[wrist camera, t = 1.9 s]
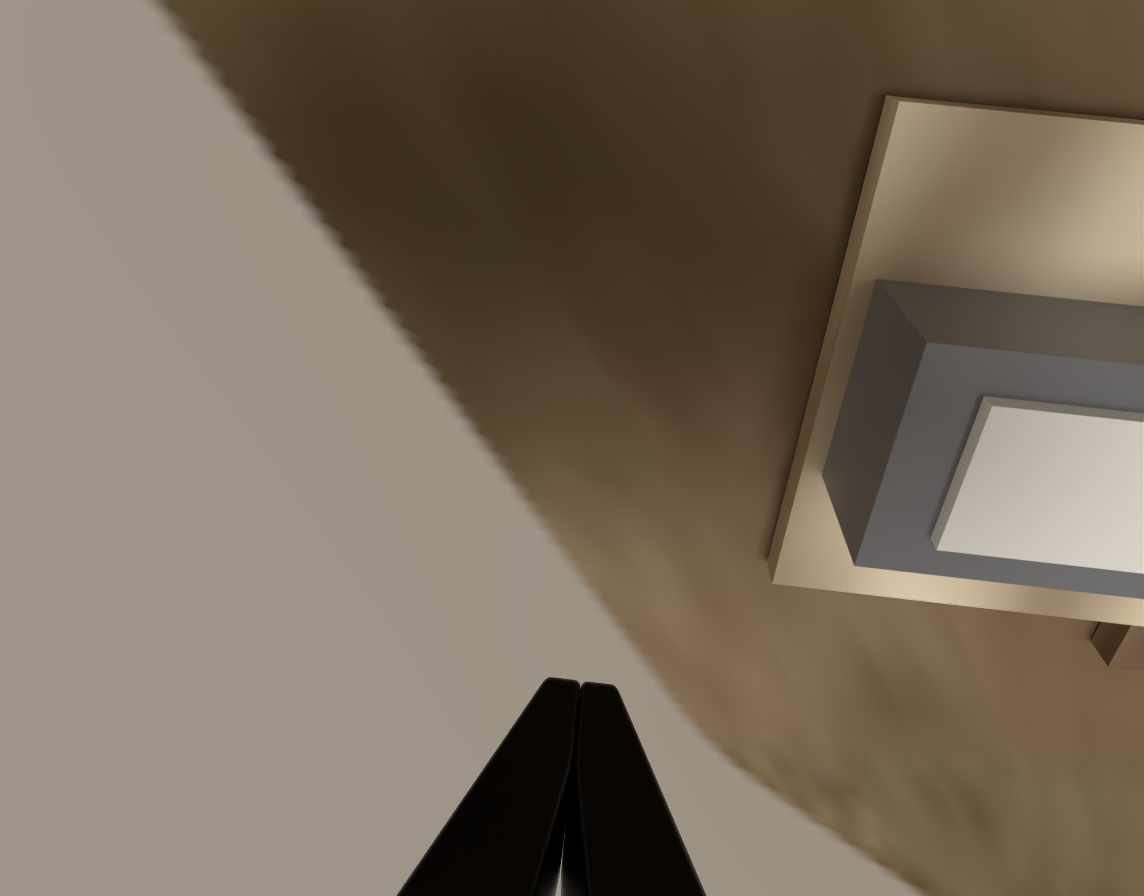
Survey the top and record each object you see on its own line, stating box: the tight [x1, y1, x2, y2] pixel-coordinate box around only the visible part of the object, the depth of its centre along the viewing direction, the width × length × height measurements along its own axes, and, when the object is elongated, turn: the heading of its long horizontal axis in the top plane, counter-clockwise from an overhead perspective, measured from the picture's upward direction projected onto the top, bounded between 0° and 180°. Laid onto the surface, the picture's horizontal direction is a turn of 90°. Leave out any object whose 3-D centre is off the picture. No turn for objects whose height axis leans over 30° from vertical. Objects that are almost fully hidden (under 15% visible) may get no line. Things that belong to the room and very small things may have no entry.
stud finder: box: [822, 279, 1144, 599], centre depth 17 cm, size 7×5×4 cm
